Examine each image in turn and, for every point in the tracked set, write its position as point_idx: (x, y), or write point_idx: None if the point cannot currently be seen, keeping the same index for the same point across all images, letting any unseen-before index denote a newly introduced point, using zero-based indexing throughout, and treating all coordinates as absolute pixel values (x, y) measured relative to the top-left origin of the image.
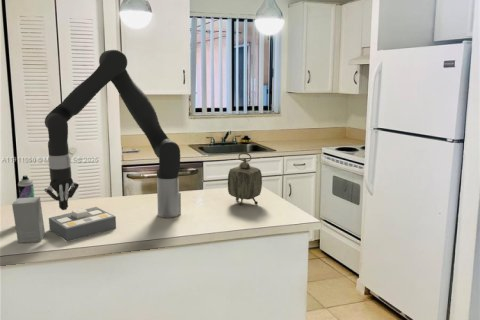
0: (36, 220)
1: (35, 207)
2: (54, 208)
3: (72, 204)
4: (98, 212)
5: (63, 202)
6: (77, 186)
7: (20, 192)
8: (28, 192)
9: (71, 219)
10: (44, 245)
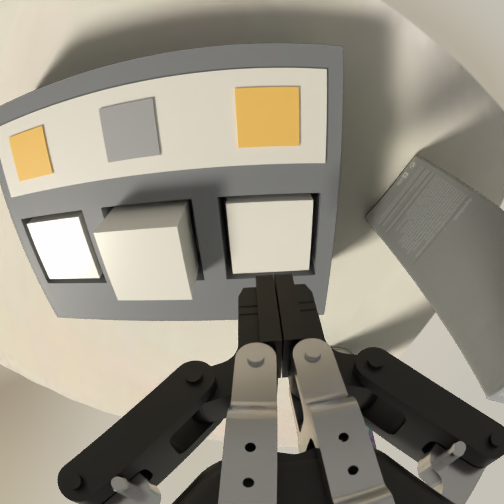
0: (499, 208)
1: None
2: None
3: None
4: (46, 236)
5: (293, 326)
6: (77, 468)
7: None
8: None
9: (221, 226)
10: (421, 99)
